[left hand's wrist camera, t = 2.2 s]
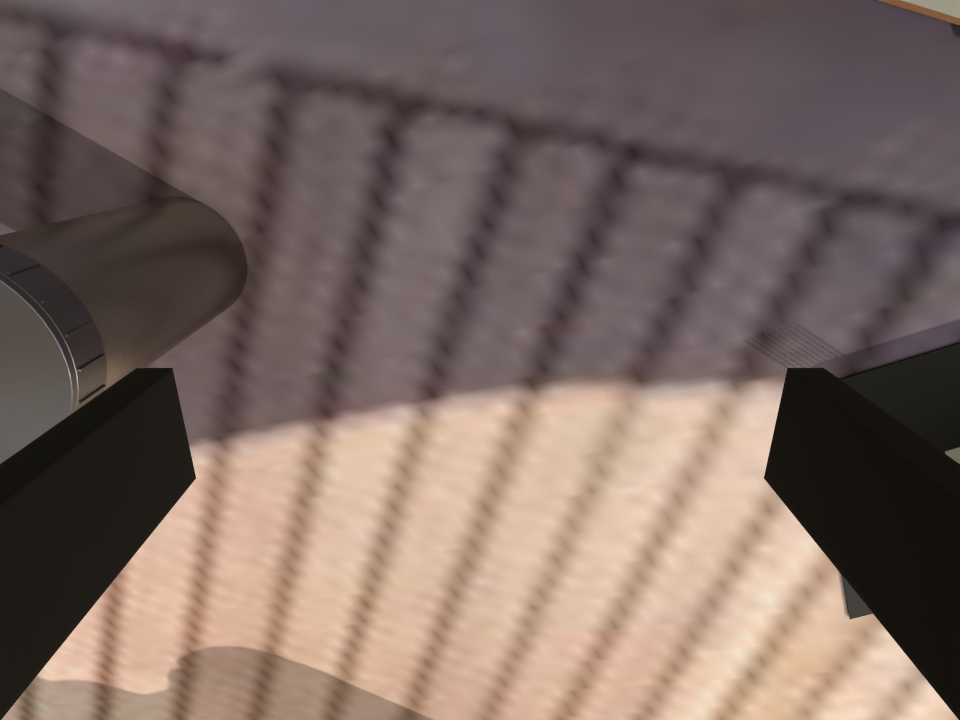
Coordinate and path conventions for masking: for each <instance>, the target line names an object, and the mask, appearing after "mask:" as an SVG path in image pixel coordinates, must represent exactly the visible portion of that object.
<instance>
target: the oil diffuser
mask: <svg viewBox="0 0 960 720" xmlns="http://www.w3.org/2000/svg"><path fill="white" fill-rule="evenodd" d="M841 381H843V382H844V383H845V384H847V385H848V386H850V387H851V388H853V389H854V390H855V391H857V392H858V393H860V394H861V395H862V396H864V397H865V398H867V399H868V400H870V401H871V402H872V403H874V404H875V405H877V406H878V407H879V408H881V409H882V410H884V411H885V412H887V413H888V414H889V415H891V416H892V417H894V418H895V419H897V420H898V421H899V422H901V423H902V424H904V425H905V426H906V427H908V428H909V429H911V430H912V431H914V432H915V433H916V434H918V435H919V436H921V437H922V438H923V439H925V440H926V441H928V442H929V443H931V444H932V445H933V446H935V447H936V448H938V449H939V450H941V451H942V452H943V453H945V454H946V455H948V456H949V457H950V458H952V459H953V460H955V461H956V462H958V463H959V464H960V343H959V344H956V345H953V346H950V347H946V348H943V349H940V350H937V351H933V352H930V353H927V354H923V355H920V356H917V357H914V358H910V359H907V360H904V361H901V362H897V363H894V364H891V365H888V366H884V367H881V368H878V369H874V370H871V371H868V372H865V373H861V374H858V375H855V376H852V377H848V378H845V379H842V380H841ZM843 581H844V587H845V593H846V599H847V605H848V611H849V617H850V619H853V618H857V617H861V616H865V615H869V614H873V613H872V611H871V610H870V609H869V608H868V606H867V605H866V604H865V603H864V601H863V600H862V599H861V598H860V597H859V595H858V594H857V593H856V592H855V590H854V589H853V588H852V587H851V585H850V584H849V583H848V582H847V580H846V579H845V578H844V577H843Z"/></svg>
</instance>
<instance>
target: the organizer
mask: <svg viewBox="0 0 960 720" xmlns="http://www.w3.org/2000/svg"><path fill="white" fill-rule="evenodd" d="M879 1H882V2H885V3H888V4H891V5H895V6H898V7H901V8H904V9H908V10H911V11H914V12H917V13H921V14H924V15H927V16H930V17H934V18H937V19H940V20H943V21H946V22H950V23H953V24H956V25H959V26H960V0H879Z"/></svg>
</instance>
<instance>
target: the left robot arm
mask: <svg viewBox="0 0 960 720" xmlns="http://www.w3.org/2000/svg"><path fill="white" fill-rule="evenodd" d="M195 479H196V476H195V471H194V467H193V462H192V457H191V453H190V448H189V443H188V439H187V434H186V429H185V425H184V420H183V415H182V411H181V406H180V402H179V397H178V392H177V388H176V383H175V378H174V374H173V369H172V368H136V369H134V370H133V371H132V372H130V373H129V374H127V375H126V376H125V377H123V378H122V379H120V380H119V381H117V382H116V383H115V384H113V385H112V386H110V387H109V388H107V389H106V390H105V391H103V392H102V393H100V394H99V395H98V396H96V397H95V398H93V399H92V400H90V401H89V402H88V403H86V404H85V405H83V406H82V407H81V408H79V409H78V410H76V411H75V412H73V413H72V414H71V415H69V416H68V417H66V418H65V419H63V420H62V421H61V422H59V423H58V424H56V425H55V426H54V427H52V428H51V429H49V430H48V431H46V432H45V433H44V434H42V435H41V436H39V437H38V438H37V439H35V440H34V441H32V442H31V443H29V444H28V445H27V446H25V447H24V448H22V449H21V450H19V451H18V452H17V453H15V454H14V455H12V456H11V457H10V458H8V459H7V460H5V461H4V462H2V463H1V464H0V720H1V719H2V718H3V717H4V716H5V714H6V713H7V712H8V711H9V709H10V708H11V707H12V706H13V704H14V703H15V702H16V701H17V699H18V698H19V697H20V696H21V694H22V693H23V692H24V691H25V689H26V688H27V687H28V686H29V685H30V683H31V682H32V681H33V680H34V678H35V677H36V676H37V675H38V673H39V672H40V671H41V670H42V668H43V667H44V666H45V665H46V663H47V662H48V661H49V660H50V659H51V657H52V656H53V655H54V654H55V652H56V651H57V650H58V649H59V647H60V646H61V645H62V644H63V642H64V641H65V640H66V639H67V637H68V636H69V635H70V634H71V632H72V631H73V630H74V629H75V628H76V626H77V625H78V624H79V623H80V621H81V620H82V619H83V618H84V616H85V615H86V614H87V613H88V611H89V610H90V609H91V608H92V606H93V605H94V604H95V603H96V601H97V600H98V599H99V598H100V597H101V595H102V594H103V593H104V592H105V590H106V589H107V588H108V587H109V585H110V584H111V583H112V582H113V580H114V579H115V578H116V577H117V575H118V574H119V573H120V572H121V570H122V569H123V568H124V567H125V566H126V564H127V563H128V562H129V561H130V559H131V558H132V557H133V556H134V554H135V553H136V552H137V551H138V549H139V548H140V547H141V546H142V544H143V543H144V542H145V541H146V539H147V538H148V537H149V536H150V535H151V533H152V532H153V531H154V530H155V528H156V527H157V526H158V525H159V523H160V522H161V521H162V520H163V518H164V517H165V516H166V515H167V513H168V512H169V511H170V510H171V508H172V507H173V506H174V505H175V504H176V502H177V501H178V500H179V499H180V497H181V496H182V495H183V494H184V492H185V491H186V490H187V489H188V487H189V486H190V485H191V484H192V482H193V481H194V480H195ZM764 479H765V480H766V481H767V482H768V484H769V485H770V486H771V487H772V489H773V490H774V491H775V492H776V494H777V495H778V496H779V497H780V499H781V500H782V501H783V502H784V504H785V505H786V506H787V507H788V508H789V510H790V511H791V512H792V513H793V515H794V516H795V517H796V518H797V520H798V521H799V522H800V523H801V525H802V526H803V527H804V528H805V530H806V531H807V532H808V533H809V535H810V536H811V537H812V538H813V539H814V541H815V542H816V543H817V544H818V546H819V547H820V548H821V549H822V551H823V552H824V553H825V554H826V556H827V557H828V558H829V559H830V561H831V562H832V563H833V564H834V566H835V567H836V568H837V569H838V570H839V572H840V573H841V574H842V575H843V577H844V578H845V579H846V580H847V582H848V583H849V584H850V585H851V587H852V588H853V589H854V590H855V592H856V593H857V594H858V595H859V597H860V598H861V599H862V600H863V601H864V603H865V604H866V605H867V606H868V608H869V609H870V610H871V611H872V613H873V614H874V615H875V616H876V618H877V619H878V620H879V621H880V623H881V624H882V625H883V626H884V628H885V629H886V630H887V631H888V632H889V634H890V635H891V636H892V637H893V639H894V640H895V641H896V642H897V644H898V645H899V646H900V647H901V649H902V650H903V651H904V652H905V654H906V655H907V656H908V657H909V659H910V660H911V661H912V662H913V663H914V665H915V666H916V667H917V668H918V670H919V671H920V672H921V673H922V675H923V676H924V677H925V678H926V680H927V681H928V682H929V683H930V685H931V686H932V687H933V688H934V689H935V691H936V692H937V693H938V694H939V696H940V697H941V698H942V699H943V701H944V702H945V703H946V704H947V706H948V707H949V708H950V709H951V711H952V712H953V713H954V714H955V716H956V717H957V718H958V719H959V720H960V464H959V463H958V462H956V461H955V460H953V459H952V458H950V457H949V456H948V455H946V454H945V453H943V452H942V451H941V450H939V449H938V448H936V447H935V446H933V445H932V444H931V443H929V442H928V441H926V440H925V439H923V438H922V437H921V436H919V435H918V434H916V433H915V432H914V431H912V430H911V429H909V428H908V427H906V426H905V425H904V424H902V423H901V422H899V421H898V420H897V419H895V418H894V417H892V416H891V415H889V414H888V413H887V412H885V411H884V410H882V409H881V408H879V407H878V406H877V405H875V404H874V403H872V402H871V401H870V400H868V399H867V398H865V397H864V396H862V395H861V394H860V393H858V392H857V391H855V390H854V389H853V388H851V387H850V386H848V385H847V384H845V383H844V382H843V381H841V380H840V379H838V378H837V377H835V376H834V375H833V374H831V373H830V372H828V371H827V370H826V369H824V368H788V369H787V374H786V378H785V383H784V388H783V392H782V397H781V401H780V406H779V411H778V415H777V420H776V425H775V429H774V434H773V439H772V443H771V448H770V453H769V457H768V462H767V467H766V471H765V476H764Z"/></svg>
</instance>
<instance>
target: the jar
mask: <svg viewBox="0 0 960 720" xmlns="http://www.w3.org/2000/svg"><path fill="white" fill-rule="evenodd" d="M0 243H2V244H3V245H5V246H7V247H10V248H13V249H15V250H17V251H19V252H21V253H23V254H25V255H27V256H29V257H31V258H33V259H34V260H36V261H37V262H39V263H41V264H42V265H43V266H45V267H46V268H48V269H49V270H50V271H51V272H53V273H54V274H55V275H56V276H58V277H59V278H60V279H61V280H62V281H63V282H64V283H65V284H66V285H67V286H68V287H69V288H70V289H71V290H72V291H73V292H74V293H75V294H76V296H77V297H78V298H79V299H80V301H81V302H82V303H83V305H84V306H85V308H86V309H87V311H88V312H89V314H90V315H91V317H92V319H93V321H94V323H95V325H96V327H97V329H98V331H99V334H100V336H101V339H102V342H103V345H104V350H105V354H106V362H107V379H106V388H105V390H106V389H107V388H109V387H110V386H112V385H113V384H115V383H116V382H117V381H119V380H120V379H122V378H123V377H125V376H126V375H127V374H129V373H130V372H132V371H133V370H134V369H136V368H146V367H147V366H148V365H150V364H151V363H153V362H154V361H155V360H157V359H158V358H160V357H161V356H162V355H164V354H165V353H166V352H168V351H169V350H171V349H172V348H173V347H175V346H176V345H178V344H179V343H180V342H182V341H183V340H184V339H186V338H187V337H189V336H190V335H191V334H193V333H194V332H196V331H197V330H198V329H200V328H201V327H202V326H204V325H205V324H207V323H208V322H209V321H211V320H212V319H214V318H215V317H216V316H218V315H219V314H220V313H222V312H223V311H225V310H226V309H227V308H229V307H230V306H231V305H232V304H233V303H234V302H235V301H236V300H237V298H238V297H239V295H240V294H241V292H242V290H243V287H244V284H245V281H246V274H247V264H246V257H245V253H244V249H243V247H242V244H241V242H240V240H239V238H238V236H237V234H236V233H235V231H234V230H233V229H232V227H231V226H230V225H229V224H228V223H227V221H226V220H225V219H223V218H222V217H221V216H220V215H219V214H218V213H216V212H215V211H214V210H212V209H211V208H209V207H207V206H205V205H203V204H201V203H199V202H196V201H193V200H189V199H185V198H175V197H170V198H162V199H158V200H153V201H149V202H144V203H140V204H136V205H131V206H127V207H122V208H118V209H114V210H109V211H105V212H100V213H96V214H92V215H87V216H83V217H79V218H74V219H70V220H65V221H61V222H57V223H52V224H48V225H43V226H39V227H35V228H30V229H26V230H21V231H17V232H13V233H8V234H4V235H0ZM105 390H104V391H105Z"/></svg>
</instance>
